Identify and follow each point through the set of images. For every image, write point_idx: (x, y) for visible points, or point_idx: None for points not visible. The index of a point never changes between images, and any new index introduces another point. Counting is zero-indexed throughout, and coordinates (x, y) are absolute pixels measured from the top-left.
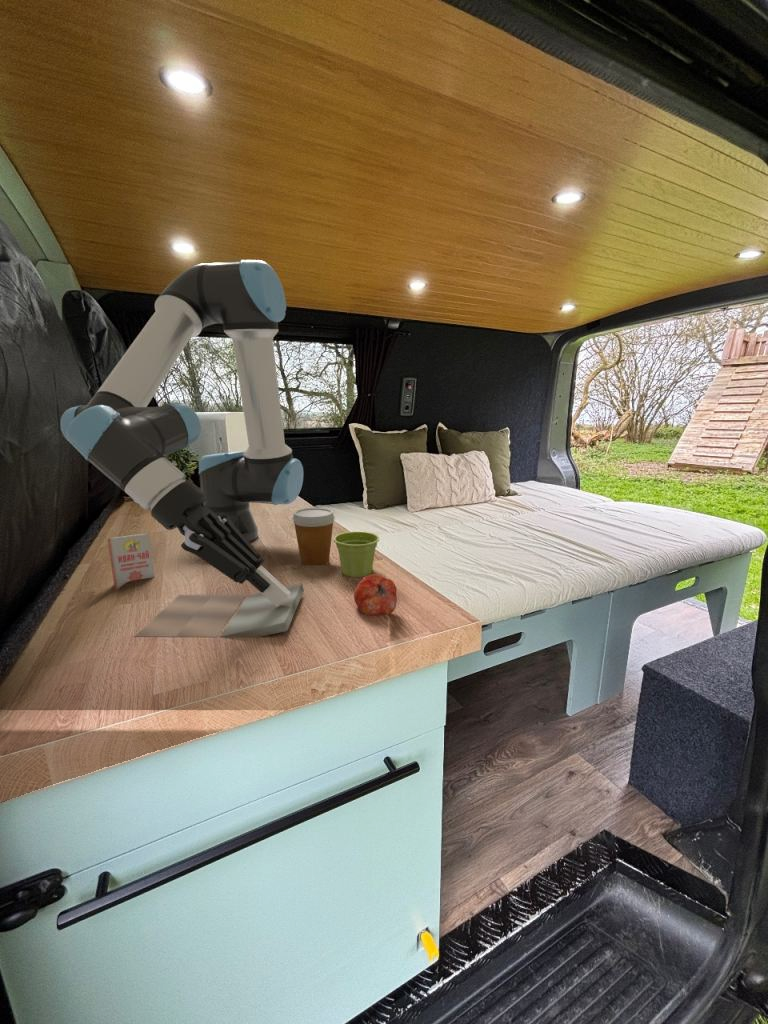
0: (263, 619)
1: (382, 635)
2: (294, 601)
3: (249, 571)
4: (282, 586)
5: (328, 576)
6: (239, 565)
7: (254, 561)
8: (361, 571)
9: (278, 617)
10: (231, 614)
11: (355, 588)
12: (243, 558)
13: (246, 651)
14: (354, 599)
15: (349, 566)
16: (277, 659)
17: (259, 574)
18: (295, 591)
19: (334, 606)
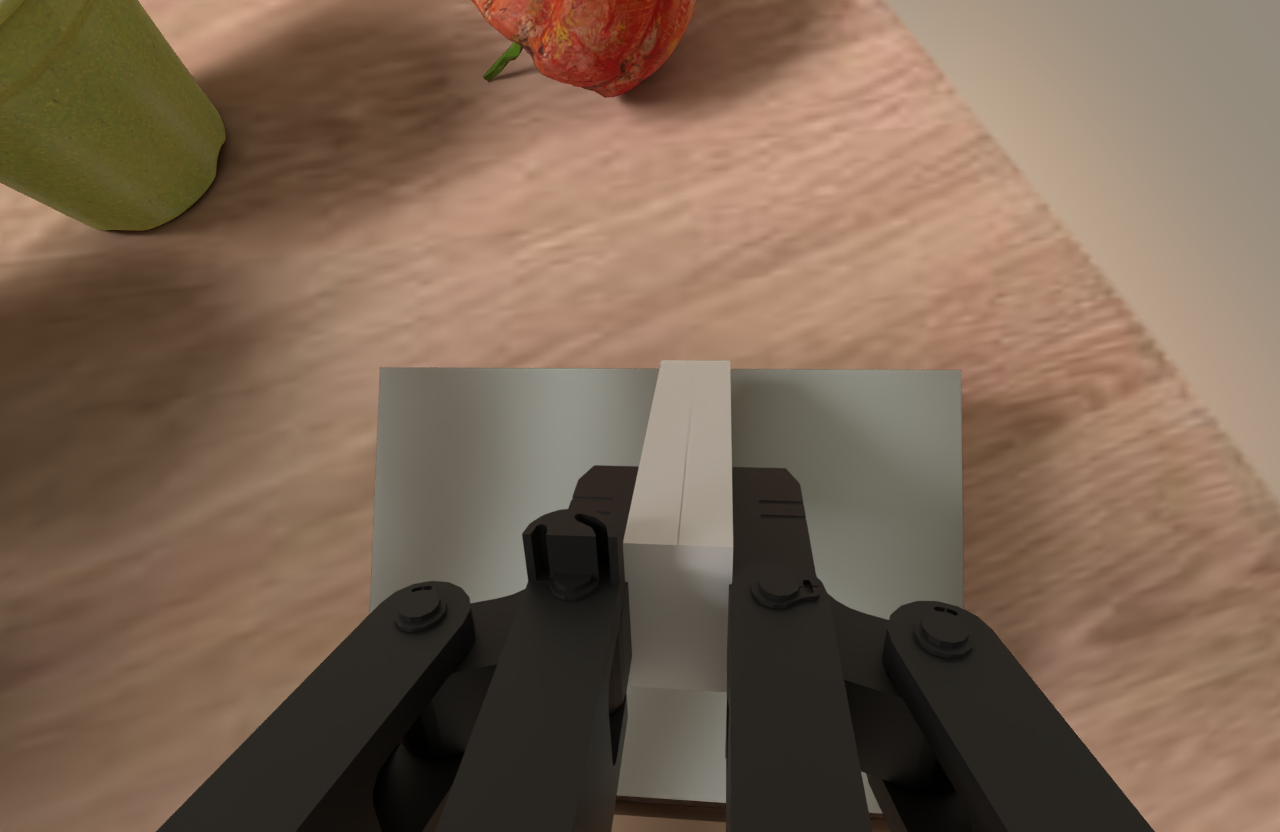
0: (847, 538)
1: (797, 21)
2: (654, 369)
3: (836, 625)
4: (674, 393)
5: (99, 315)
6: (1038, 719)
7: (617, 614)
8: (187, 82)
9: (866, 431)
10: (661, 824)
11: (567, 18)
12: (781, 729)
13: (991, 618)
14: (602, 68)
15: (146, 120)
16: (1046, 434)
17: (733, 544)
18: (502, 389)
19: (502, 240)
